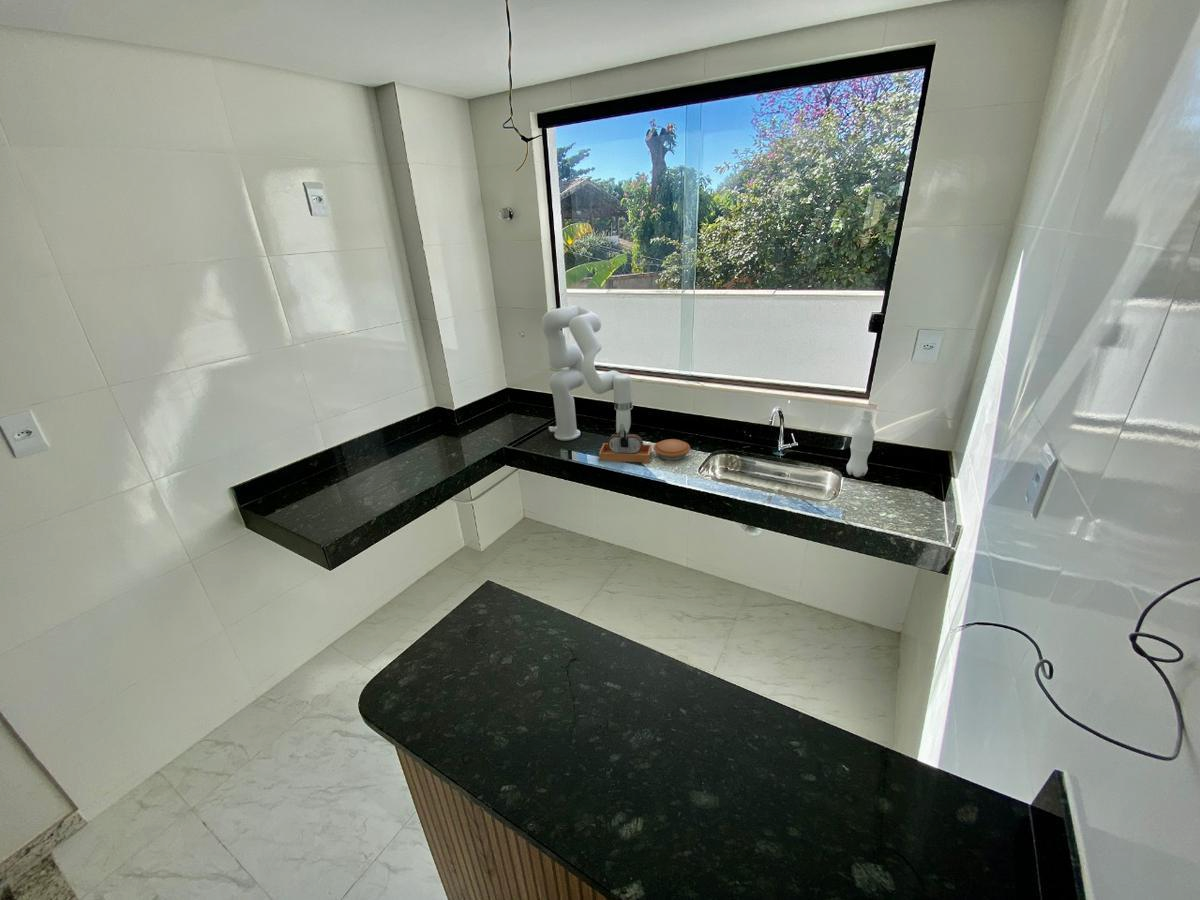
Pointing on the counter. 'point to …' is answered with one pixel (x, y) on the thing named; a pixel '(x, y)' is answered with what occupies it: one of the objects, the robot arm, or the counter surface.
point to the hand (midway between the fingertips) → (625, 444)
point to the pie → (672, 449)
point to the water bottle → (861, 446)
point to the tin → (633, 444)
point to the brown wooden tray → (625, 455)
